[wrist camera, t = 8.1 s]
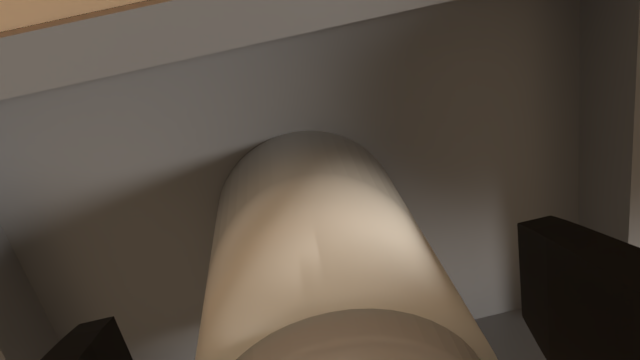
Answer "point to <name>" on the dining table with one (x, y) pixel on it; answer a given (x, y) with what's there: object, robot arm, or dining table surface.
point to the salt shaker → (326, 264)
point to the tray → (292, 116)
